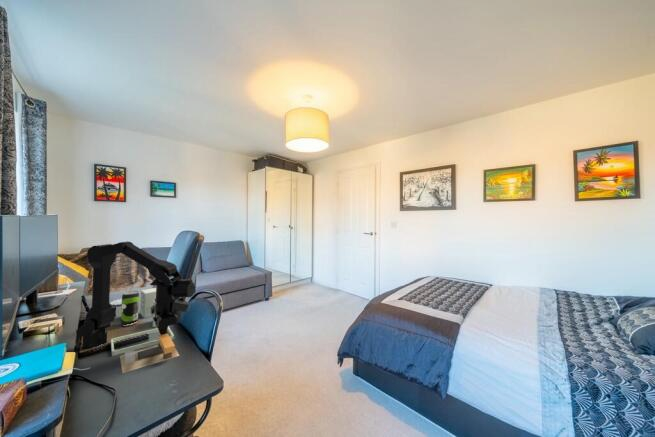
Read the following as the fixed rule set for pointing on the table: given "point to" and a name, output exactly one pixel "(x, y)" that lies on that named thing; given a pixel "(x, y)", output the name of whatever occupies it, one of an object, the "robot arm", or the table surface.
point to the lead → (141, 354)
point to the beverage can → (129, 307)
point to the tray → (138, 344)
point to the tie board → (146, 359)
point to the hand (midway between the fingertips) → (163, 336)
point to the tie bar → (166, 343)
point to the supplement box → (147, 302)
